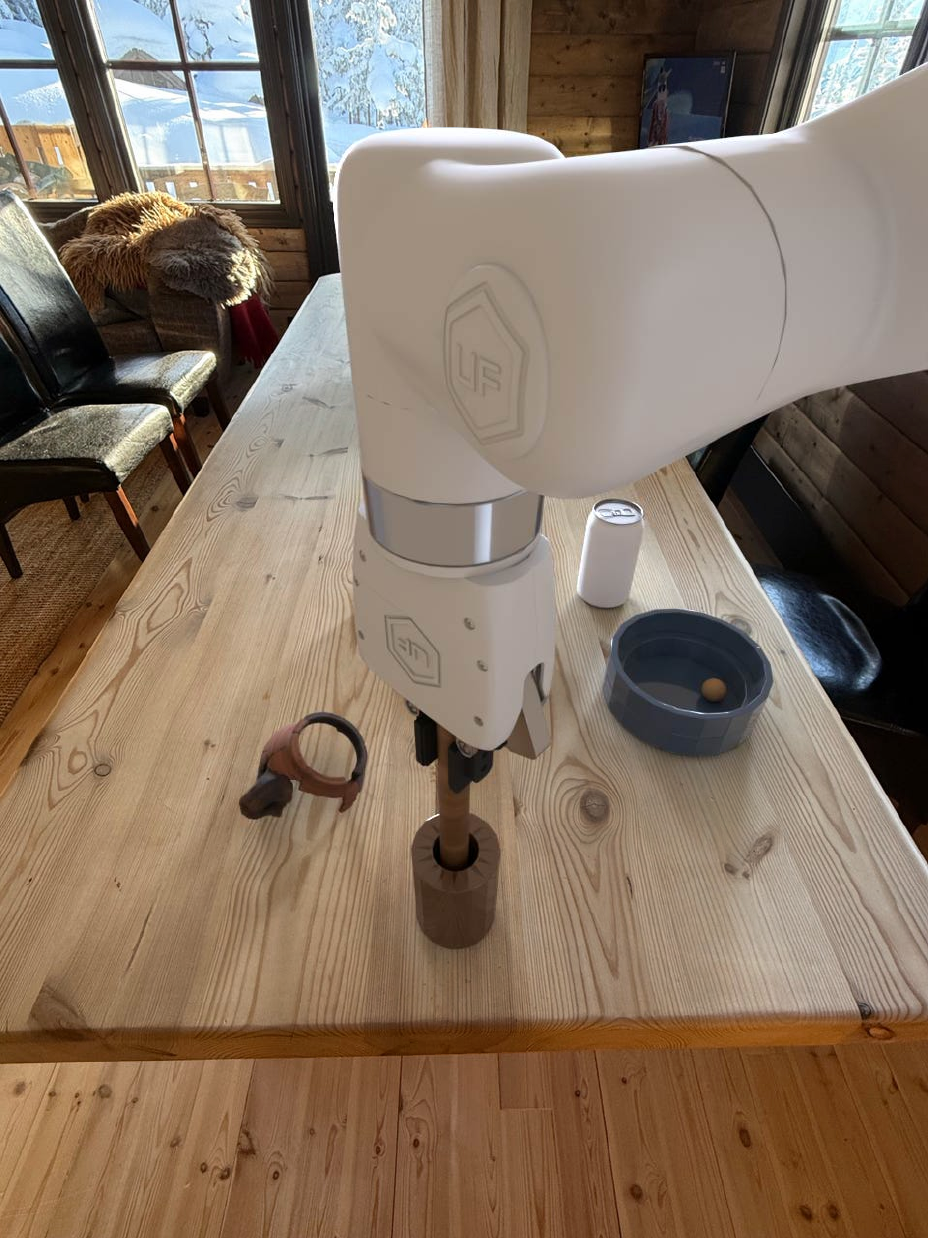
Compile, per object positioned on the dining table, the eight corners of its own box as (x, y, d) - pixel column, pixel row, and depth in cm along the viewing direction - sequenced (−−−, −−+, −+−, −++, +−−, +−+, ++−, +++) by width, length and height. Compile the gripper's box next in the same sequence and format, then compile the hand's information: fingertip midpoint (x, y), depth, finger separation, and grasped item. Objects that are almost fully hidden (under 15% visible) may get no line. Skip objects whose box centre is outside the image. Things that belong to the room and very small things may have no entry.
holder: (485, 959, 49) (489, 901, 43) (406, 938, 50) (399, 880, 44) (502, 881, 54) (507, 820, 48) (428, 864, 55) (425, 802, 49)
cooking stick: (464, 896, 48) (467, 718, 35) (437, 890, 49) (431, 711, 35) (470, 871, 50) (476, 691, 37) (444, 865, 50) (441, 685, 37)
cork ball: (692, 691, 68) (704, 690, 66) (706, 674, 69) (718, 672, 66) (709, 706, 68) (721, 706, 66) (723, 689, 69) (735, 688, 66)
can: (571, 579, 84) (583, 497, 76) (620, 576, 85) (637, 494, 77) (583, 611, 79) (597, 527, 71) (635, 608, 80) (655, 524, 72)
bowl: (761, 774, 62) (781, 733, 58) (596, 742, 64) (605, 701, 60) (747, 661, 73) (764, 621, 69) (608, 639, 76) (616, 598, 72)
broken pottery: (292, 733, 66) (324, 685, 61) (359, 800, 65) (397, 757, 60) (197, 805, 56) (227, 754, 51) (275, 885, 55) (312, 841, 50)
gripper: (269, 463, 30) (323, 727, 42) (548, 628, 21) (514, 896, 34) (394, 413, 34) (410, 666, 46) (668, 535, 26) (599, 804, 38)
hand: (454, 762), depth 40 cm, fingers closed on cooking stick, 2 cm apart
